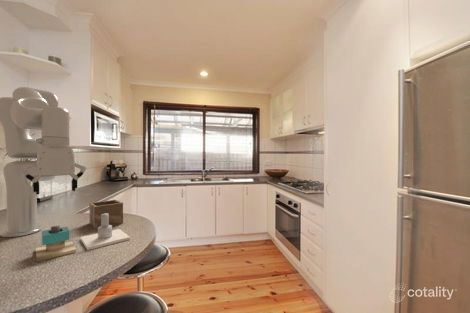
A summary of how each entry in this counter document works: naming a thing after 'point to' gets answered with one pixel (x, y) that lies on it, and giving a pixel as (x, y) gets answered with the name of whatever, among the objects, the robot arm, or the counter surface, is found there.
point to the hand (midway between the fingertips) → (56, 192)
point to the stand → (54, 248)
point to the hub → (104, 235)
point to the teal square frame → (55, 236)
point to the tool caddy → (110, 207)
